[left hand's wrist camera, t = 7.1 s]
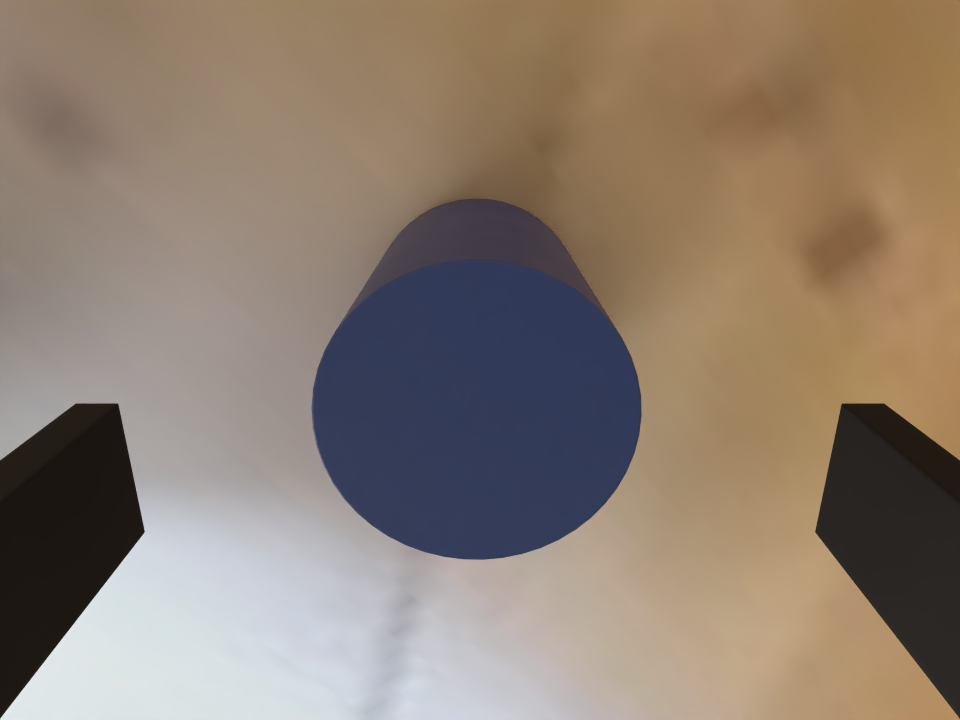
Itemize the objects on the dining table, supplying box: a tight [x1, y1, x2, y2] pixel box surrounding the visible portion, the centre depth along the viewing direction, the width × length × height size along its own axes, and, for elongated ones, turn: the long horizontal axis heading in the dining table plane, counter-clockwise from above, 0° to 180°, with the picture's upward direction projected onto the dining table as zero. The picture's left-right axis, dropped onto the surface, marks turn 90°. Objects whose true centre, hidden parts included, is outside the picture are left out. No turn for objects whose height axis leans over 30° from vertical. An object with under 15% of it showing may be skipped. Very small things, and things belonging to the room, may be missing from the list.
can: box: [312, 199, 641, 560], centre depth 20 cm, size 7×7×10 cm
